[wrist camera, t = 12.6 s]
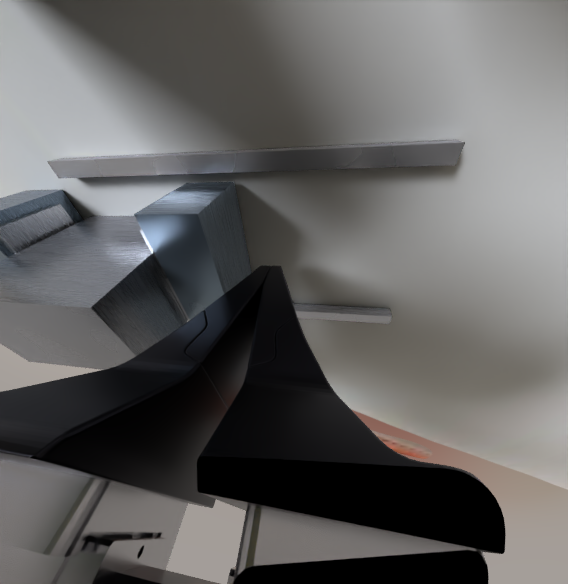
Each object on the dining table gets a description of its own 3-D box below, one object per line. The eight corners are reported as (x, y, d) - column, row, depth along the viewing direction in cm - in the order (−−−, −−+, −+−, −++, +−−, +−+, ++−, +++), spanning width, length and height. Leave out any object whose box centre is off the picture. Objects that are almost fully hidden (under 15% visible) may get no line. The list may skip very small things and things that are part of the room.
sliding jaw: (234, 181, 8) (198, 213, 6) (263, 333, 15) (252, 379, 12) (180, 183, 9) (124, 214, 6) (231, 331, 15) (214, 375, 13)
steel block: (92, 215, 11) (-74, 297, 6) (194, 215, 10) (90, 307, 5) (129, 272, 13) (29, 361, 8) (215, 275, 12) (153, 375, 8)
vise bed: (455, 139, 7) (537, 162, 4) (386, 315, 12) (404, 372, 10) (2, 161, 9) (-121, 183, 7) (114, 300, 15) (71, 342, 12)
